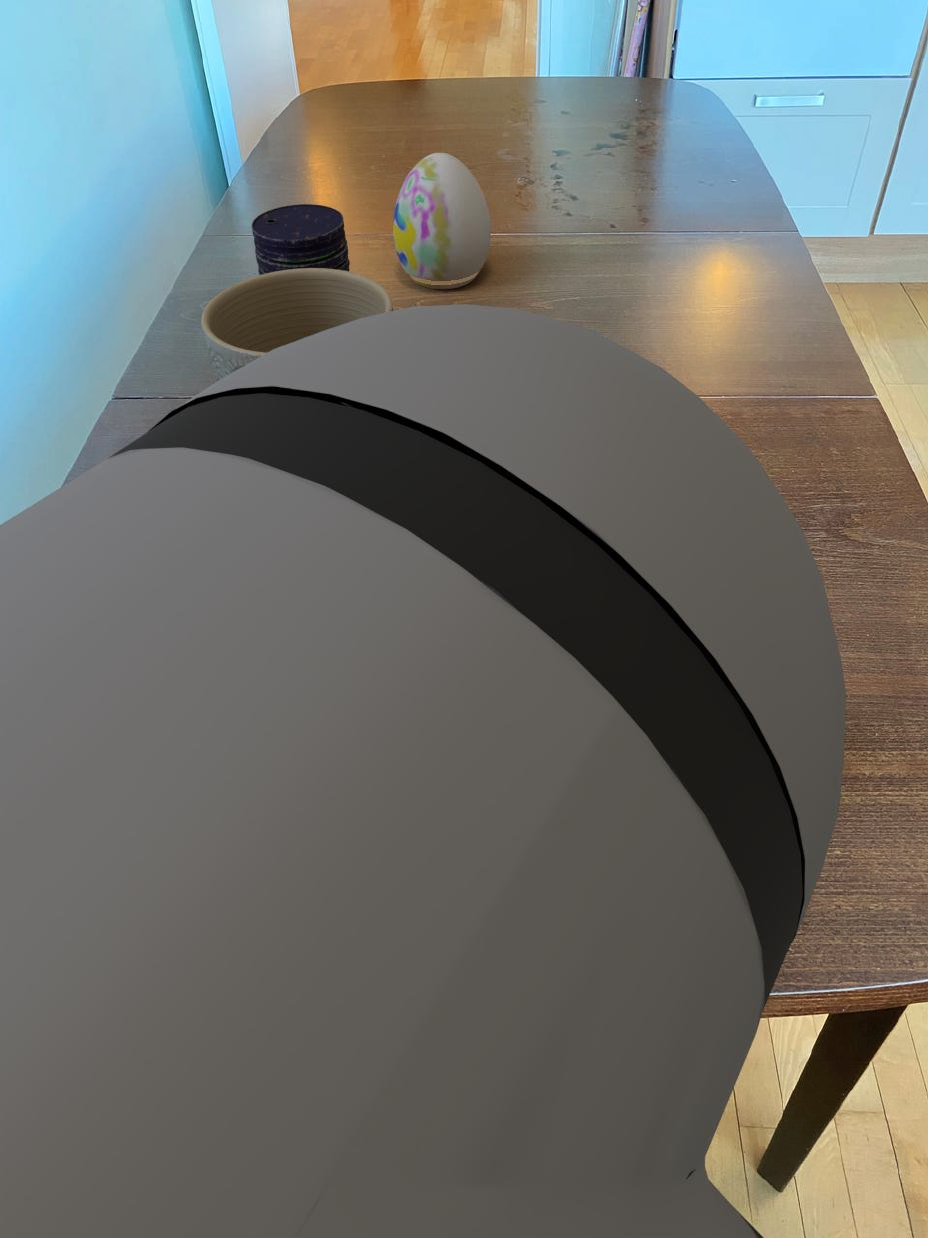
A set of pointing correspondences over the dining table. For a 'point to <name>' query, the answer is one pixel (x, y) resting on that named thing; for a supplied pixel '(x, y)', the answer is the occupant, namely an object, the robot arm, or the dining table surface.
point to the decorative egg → (441, 222)
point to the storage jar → (300, 239)
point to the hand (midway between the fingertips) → (438, 735)
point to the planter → (284, 312)
